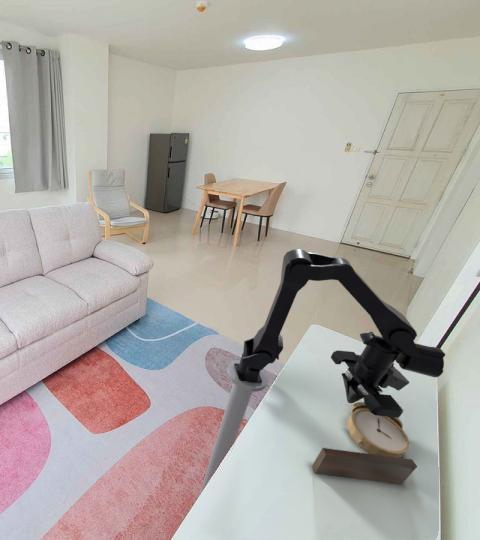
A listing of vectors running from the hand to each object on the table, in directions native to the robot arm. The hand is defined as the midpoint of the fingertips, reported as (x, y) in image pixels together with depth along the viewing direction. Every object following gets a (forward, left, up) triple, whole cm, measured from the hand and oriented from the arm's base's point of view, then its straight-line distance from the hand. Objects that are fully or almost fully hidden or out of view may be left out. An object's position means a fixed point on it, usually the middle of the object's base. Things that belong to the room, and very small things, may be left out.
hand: (349, 402), depth 79 cm
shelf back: (+18, -8, -3) cm, 20 cm away
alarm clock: (+6, +3, -3) cm, 8 cm away
